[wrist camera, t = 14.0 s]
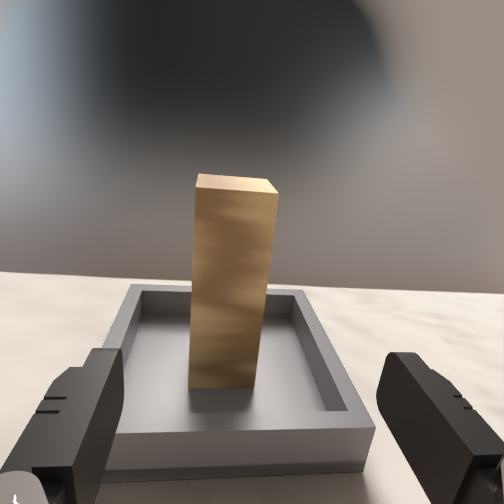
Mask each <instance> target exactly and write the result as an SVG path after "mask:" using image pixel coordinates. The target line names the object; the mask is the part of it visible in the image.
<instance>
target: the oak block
mask: <svg viewBox="0 0 504 504" xmlns="http://www.w3.org/2000/svg"><path fill="white" fill-rule="evenodd" d="M195 192H196V193H195V217H194V242H193V269H192V293H191V319H190V344H189V370H188V388H254V387H255V379H256V371H257V363H258V355H259V347H260V339H261V331H262V323H263V315H264V307H265V299H266V291H267V283H268V275H269V267H270V259H271V250H272V243H273V235H274V227H275V219H276V210H277V202H278V195H279V194H278V192H277V191H276V190H275V188H274V187H273V186H272V185H271V184H270V182H269V181H267V179H257V178H244V177H232V176H220V175H208V174H207V175H206V174H199V175H198V179H197V183H196V191H195Z"/></svg>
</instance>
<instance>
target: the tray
mask: <svg viewBox="0 0 504 504" xmlns="http://www.w3.org/2000/svg"><path fill="white" fill-rule="evenodd" d="M191 293H192V286H174V285H145V284H131V285H130V287H129V290H128V292H127V294H126V296H125V298H124V301H123V303H122V305H121V307H120V309H119V311H118V314H117V316H116V318H115V320H114V322H113V324H112V327H111V329H110V331H109V333H108V335H107V338H106V340H105V342H104V344H103V346H102V348H121V349H122V353H123V373H124V403H123V409H122V414H121V417H120V421H119V424H118V427H117V431H116V434H115V437H114V441H113V444H112V447H111V450H110V454H109V457H108V460H107V464H106V467H105V470H104V474H103V477H102V480H101V483H108V482H132V481H156V480H179V479H203V478H227V477H250V476H274V475H298V474H321V473H345V472H363V469H364V466H365V462H366V459H367V456H368V452H369V449H370V445H371V442H372V439H373V435H374V432H375V429H376V426H375V425H374V423H373V421H372V419H371V417H370V415H369V413H368V411H367V410H366V408H365V406H364V404H363V402H362V400H361V398H360V396H359V395H358V393H357V391H356V389H355V387H354V385H353V383H352V381H351V379H350V378H349V376H348V374H347V372H346V370H345V368H344V366H343V364H342V363H341V361H340V359H339V357H338V355H337V353H336V351H335V349H334V348H333V346H332V344H331V342H330V340H329V338H328V336H327V334H326V333H325V331H324V329H323V327H322V325H321V323H320V321H319V319H318V318H317V316H316V314H315V312H314V310H313V308H312V306H311V304H310V303H309V301H308V299H307V297H306V295H305V293H304V291H303V290H289V289H267V291H266V299H265V307H264V315H263V323H262V331H261V339H260V347H259V355H258V363H257V371H256V379H255V387H254V388H188V370H189V344H190V319H191Z"/></svg>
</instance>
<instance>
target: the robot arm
mask: <svg viewBox="0 0 504 504" xmlns="http://www.w3.org/2000/svg"><path fill="white" fill-rule="evenodd" d="M376 399H377V405H378V409H379V411H380V413H381V415H382V417H383V419H384V421H385V422H386V424H387V426H388V428H389V429H390V431H391V433H392V435H393V437H394V438H395V440H396V442H397V444H398V445H399V447H400V449H401V451H402V453H403V454H404V456H405V458H406V460H407V461H408V463H409V465H410V467H411V469H412V470H413V472H414V474H415V476H416V477H417V479H418V481H419V483H420V485H421V486H422V488H423V490H424V492H425V493H426V495H427V497H428V499H429V500H430V502H431V504H504V442H503V441H502V439H501V438H500V437H499V436H498V435H497V434H496V433H495V432H494V430H493V429H492V428H491V427H490V426H489V425H488V424H487V423H486V421H485V420H484V419H483V418H482V417H481V416H480V415H479V414H478V413H477V411H476V410H473V408H472V406H471V405H470V404H469V402H468V401H467V400H466V399H465V398H462V395H461V393H460V392H459V391H458V390H457V389H456V388H455V387H454V386H453V384H452V383H451V382H450V381H449V380H447V379H446V378H444V377H443V376H442V375H440V374H439V373H437V372H436V371H434V370H433V369H430V368H429V367H428V366H427V365H426V364H425V362H424V361H423V360H422V359H421V358H420V357H419V355H418V354H416V353H412V352H390V353H389V354H388V355H387V357H386V360H385V363H384V367H383V370H382V374H381V377H380V381H379V385H378V388H377V393H376ZM123 403H124V373H123V353H122V349H121V348H93V349H92V350H91V352H90V353H89V355H88V357H87V359H86V361H85V363H84V365H83V367H69V368H68V369H67V370H66V371H64V372H63V373H62V374H61V375H60V376H58V377H57V378H56V379H55V380H54V381H53V382H52V384H51V386H50V387H49V389H48V391H47V392H46V394H45V396H44V399H43V400H42V401H41V402H40V404H39V406H38V408H37V409H36V412H35V414H33V416H32V418H31V419H30V421H29V423H28V424H27V426H26V428H25V429H24V431H23V433H22V434H21V436H20V438H19V439H18V441H17V443H16V444H15V446H14V448H13V449H12V451H11V453H10V454H9V456H8V458H7V460H6V461H5V463H4V465H3V466H2V468H1V470H0V504H94V503H95V500H96V497H97V493H98V490H99V487H100V483H101V480H102V477H103V474H104V470H105V467H106V464H107V460H108V457H109V454H110V450H111V447H112V444H113V441H114V437H115V434H116V431H117V427H118V424H119V421H120V417H121V414H122V409H123Z"/></svg>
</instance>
